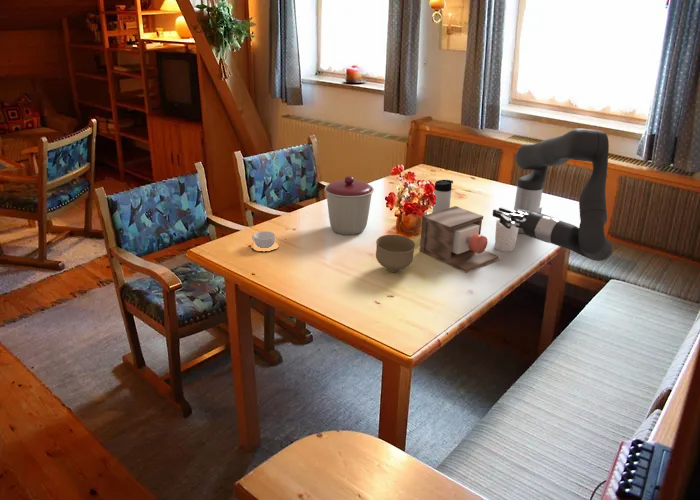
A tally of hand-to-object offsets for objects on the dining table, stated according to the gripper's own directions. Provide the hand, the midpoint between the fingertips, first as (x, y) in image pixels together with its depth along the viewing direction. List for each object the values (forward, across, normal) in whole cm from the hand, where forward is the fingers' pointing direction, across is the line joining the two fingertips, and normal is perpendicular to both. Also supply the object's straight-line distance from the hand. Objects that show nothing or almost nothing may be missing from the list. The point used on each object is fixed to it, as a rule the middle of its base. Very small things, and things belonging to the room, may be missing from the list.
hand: (496, 211), depth 183 cm
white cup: (+7, -18, +20) cm, 28 cm away
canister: (+54, +16, +20) cm, 60 cm away
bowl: (+18, +26, +20) cm, 37 cm away
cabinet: (+13, 0, +20) cm, 24 cm away
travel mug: (+32, -11, +20) cm, 40 cm away
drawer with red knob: (+10, 0, +17) cm, 20 cm away
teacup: (+59, +50, +20) cm, 80 cm away
